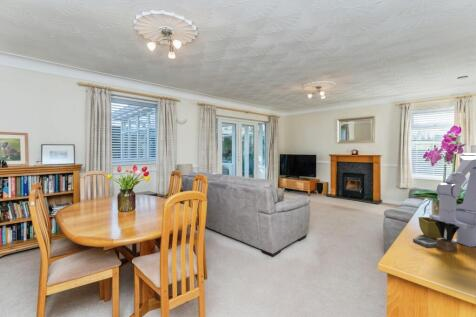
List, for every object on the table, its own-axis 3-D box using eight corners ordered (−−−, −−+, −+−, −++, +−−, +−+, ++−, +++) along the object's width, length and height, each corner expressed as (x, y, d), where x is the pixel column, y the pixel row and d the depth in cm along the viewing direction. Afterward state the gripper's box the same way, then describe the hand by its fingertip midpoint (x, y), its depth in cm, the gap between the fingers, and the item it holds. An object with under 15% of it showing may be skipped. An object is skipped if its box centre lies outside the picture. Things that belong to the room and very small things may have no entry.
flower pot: (447, 240, 114) (448, 222, 113) (427, 239, 115) (427, 221, 115) (436, 234, 122) (436, 217, 122) (417, 233, 124) (417, 216, 124)
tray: (426, 239, 115) (426, 237, 114) (441, 245, 108) (441, 242, 108) (413, 241, 113) (413, 238, 113) (427, 247, 106) (427, 244, 106)
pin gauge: (445, 244, 106) (446, 227, 105) (450, 246, 104) (451, 228, 103) (442, 244, 105) (442, 227, 105) (446, 246, 103) (447, 229, 103)
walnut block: (444, 245, 107) (445, 237, 107) (456, 250, 103) (457, 241, 102) (436, 246, 107) (436, 238, 106) (447, 251, 102) (448, 242, 101)
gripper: (424, 206, 110) (423, 233, 111) (458, 214, 96) (457, 246, 96) (436, 205, 111) (435, 232, 112) (471, 213, 97) (470, 244, 98)
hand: (446, 238), depth 104 cm, fingers closed on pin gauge, 2 cm apart
